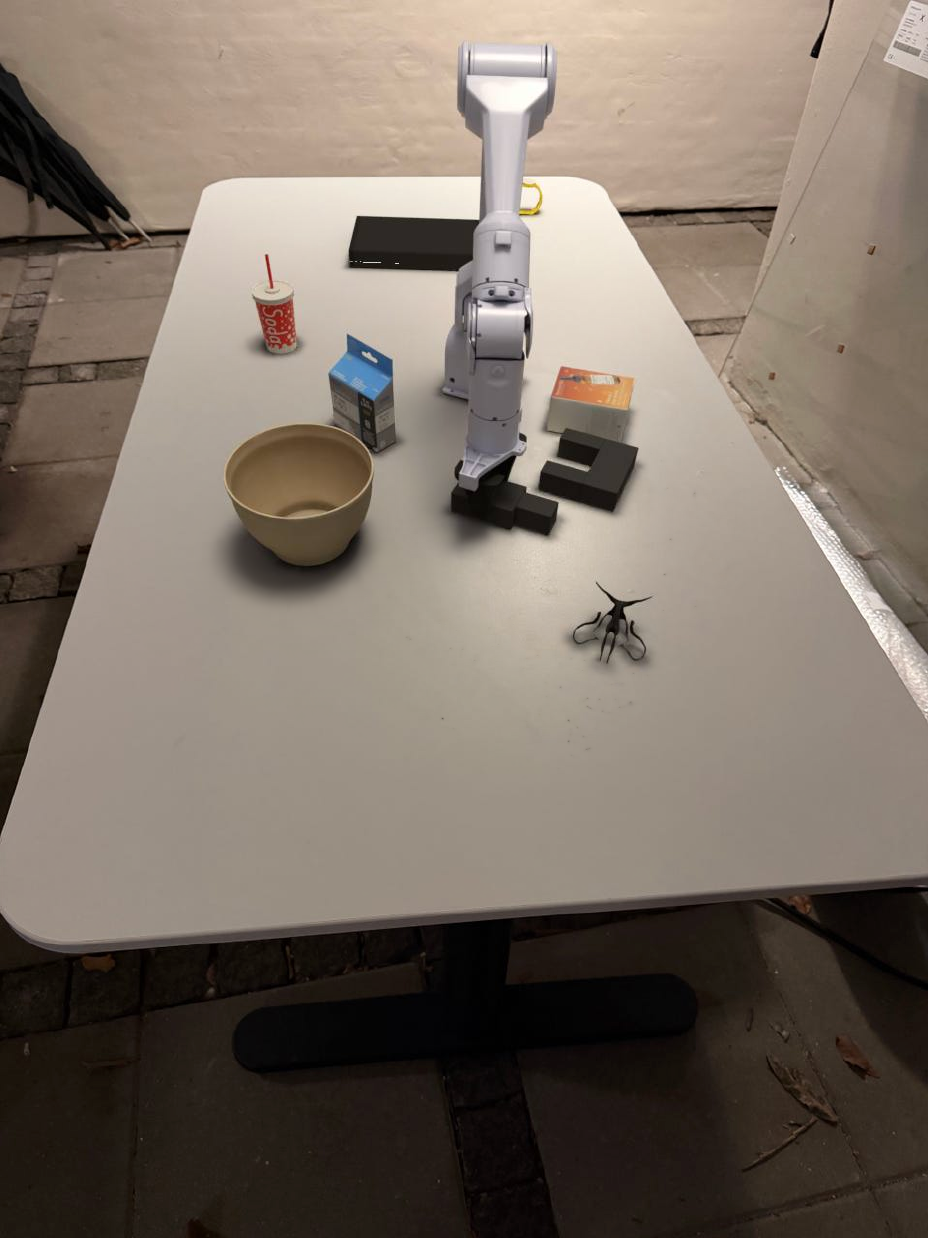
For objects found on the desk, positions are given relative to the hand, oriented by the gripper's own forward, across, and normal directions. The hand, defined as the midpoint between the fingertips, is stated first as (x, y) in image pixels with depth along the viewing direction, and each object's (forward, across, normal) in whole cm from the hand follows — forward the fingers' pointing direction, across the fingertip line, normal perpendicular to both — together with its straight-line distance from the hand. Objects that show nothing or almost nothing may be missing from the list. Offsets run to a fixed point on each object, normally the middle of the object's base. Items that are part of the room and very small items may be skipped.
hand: (488, 499), depth 95 cm
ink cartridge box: (+2, +7, +21) cm, 22 cm away
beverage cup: (+2, +21, +43) cm, 48 cm away
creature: (+2, -14, -20) cm, 24 cm away
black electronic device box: (+2, +59, +38) cm, 70 cm away
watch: (+2, +83, +26) cm, 87 cm away
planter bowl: (+2, -14, +17) cm, 22 cm away
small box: (-1, +24, -11) cm, 26 cm away
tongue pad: (+1, 0, -2) cm, 3 cm away
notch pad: (+1, +11, -10) cm, 15 cm away
